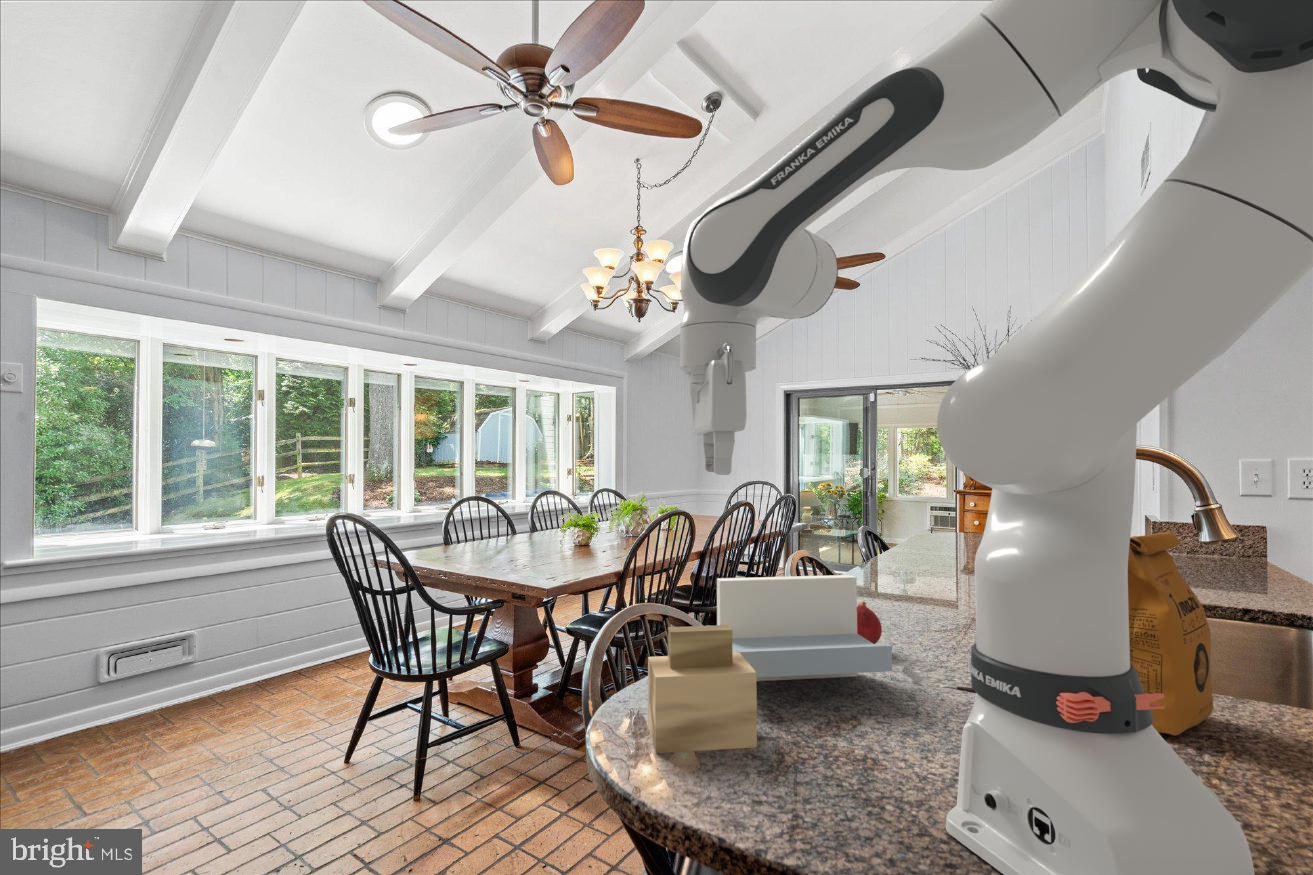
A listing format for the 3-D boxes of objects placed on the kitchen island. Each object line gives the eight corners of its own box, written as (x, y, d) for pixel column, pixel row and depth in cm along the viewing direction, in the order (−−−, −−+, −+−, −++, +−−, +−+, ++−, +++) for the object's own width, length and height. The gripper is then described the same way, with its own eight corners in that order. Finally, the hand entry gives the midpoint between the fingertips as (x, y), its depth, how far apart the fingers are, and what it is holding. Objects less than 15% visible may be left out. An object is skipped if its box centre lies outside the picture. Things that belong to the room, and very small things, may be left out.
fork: (1036, 708, 78) (1035, 692, 78) (901, 684, 87) (901, 670, 87) (1036, 701, 81) (1035, 685, 81) (905, 679, 89) (905, 664, 89)
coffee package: (1232, 725, 72) (1225, 534, 73) (1179, 749, 66) (1172, 541, 67) (1134, 697, 81) (1129, 526, 82) (1080, 715, 75) (1074, 532, 76)
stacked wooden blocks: (757, 747, 67) (756, 635, 68) (655, 754, 66) (655, 639, 66) (740, 721, 74) (739, 618, 75) (648, 726, 73) (647, 622, 73)
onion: (884, 658, 97) (883, 606, 98) (846, 655, 99) (845, 604, 99) (879, 647, 103) (878, 598, 103) (842, 645, 104) (842, 596, 105)
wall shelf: (892, 703, 79) (891, 591, 80) (739, 711, 77) (738, 596, 77) (851, 671, 91) (850, 574, 92) (717, 677, 89) (716, 578, 89)
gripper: (762, 339, 63) (761, 476, 62) (732, 366, 83) (731, 470, 83) (699, 338, 63) (698, 476, 62) (684, 366, 83) (683, 470, 83)
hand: (717, 473), depth 73 cm, fingers open, 8 cm apart
